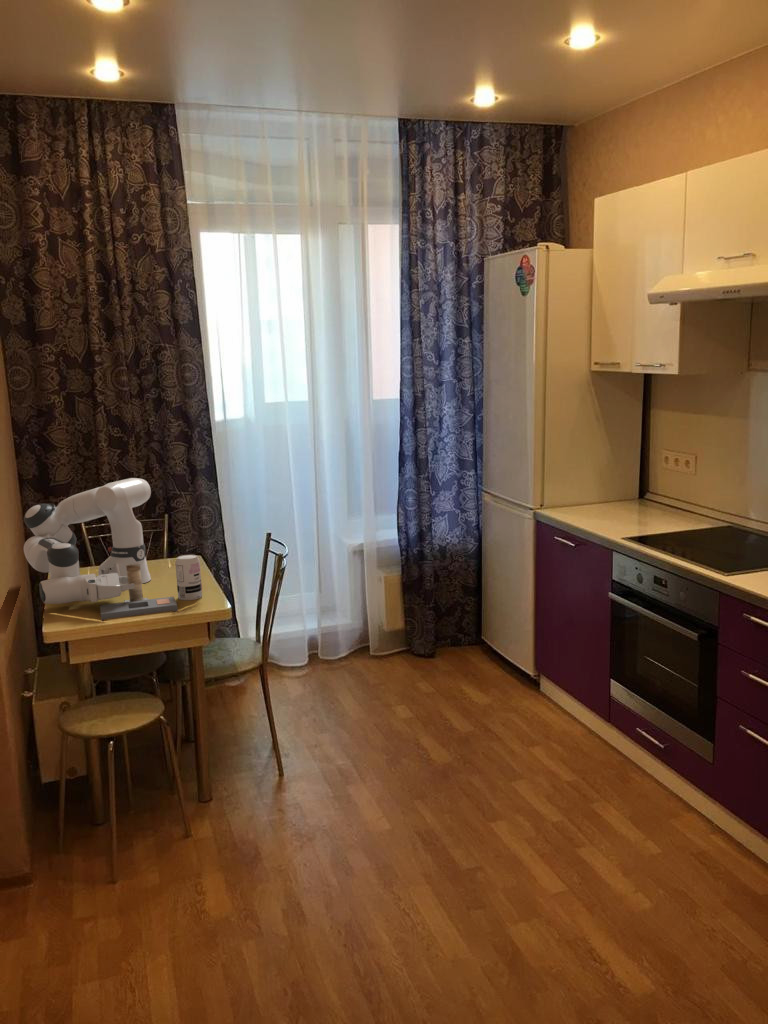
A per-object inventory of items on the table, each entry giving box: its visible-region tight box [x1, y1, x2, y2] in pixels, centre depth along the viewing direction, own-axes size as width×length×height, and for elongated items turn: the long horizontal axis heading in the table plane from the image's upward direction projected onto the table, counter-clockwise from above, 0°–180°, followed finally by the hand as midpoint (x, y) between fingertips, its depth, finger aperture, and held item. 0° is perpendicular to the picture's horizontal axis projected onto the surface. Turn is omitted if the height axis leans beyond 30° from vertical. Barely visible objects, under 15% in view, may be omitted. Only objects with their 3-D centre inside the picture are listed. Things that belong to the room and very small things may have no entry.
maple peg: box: [126, 564, 144, 602], centre depth 289 cm, size 4×4×13 cm
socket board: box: [99, 596, 179, 622], centre depth 280 cm, size 24×11×3 cm, turn 110°
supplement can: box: [174, 554, 203, 601], centre depth 293 cm, size 8×8×15 cm
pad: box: [123, 597, 149, 602], centre depth 290 cm, size 8×8×1 cm
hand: (133, 582), depth 289 cm, fingers open, 8 cm apart
